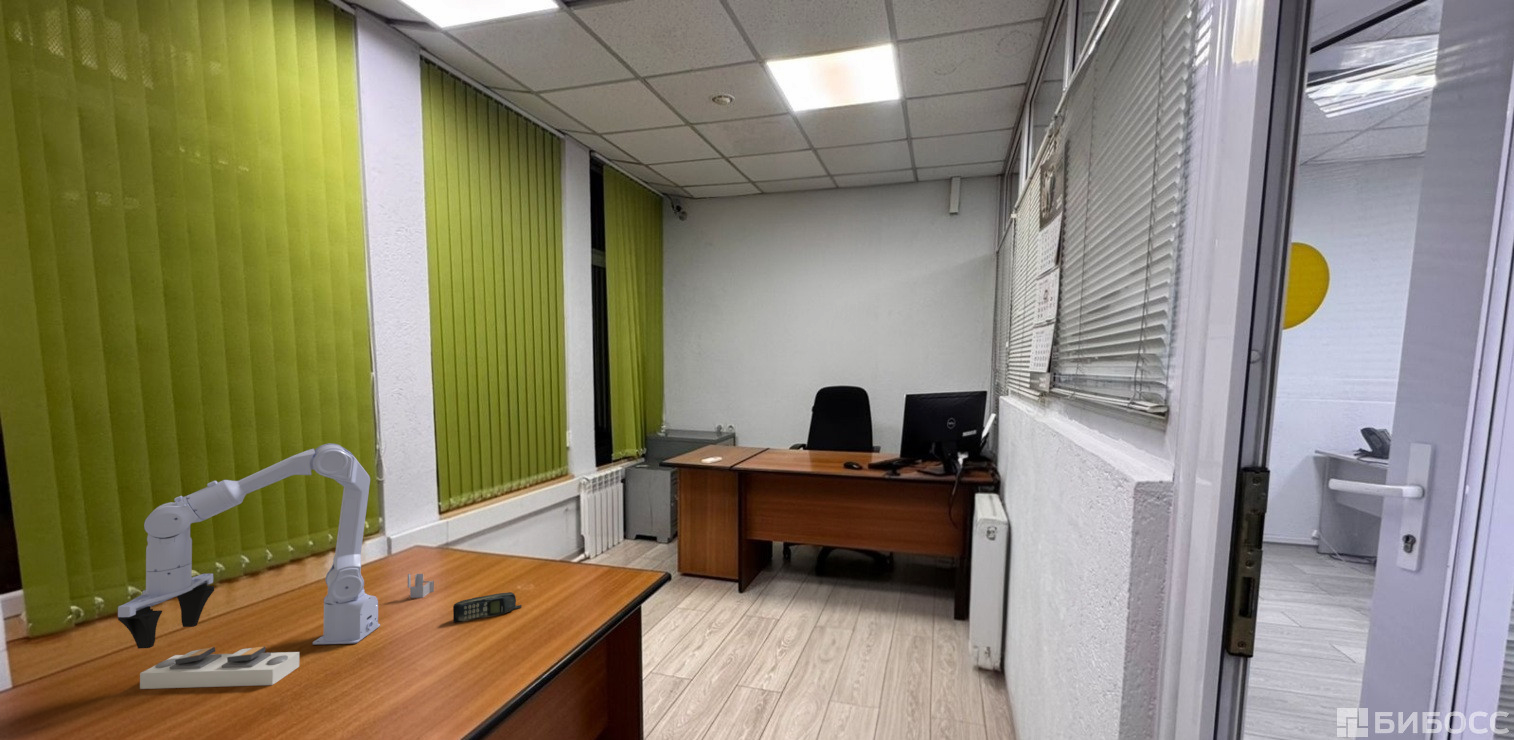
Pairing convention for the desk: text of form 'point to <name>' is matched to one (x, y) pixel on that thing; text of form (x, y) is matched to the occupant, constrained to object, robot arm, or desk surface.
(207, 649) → the rocker
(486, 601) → the mobile phone
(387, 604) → the desk surface
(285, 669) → the rocker switch panel
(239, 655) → the rocker
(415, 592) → the architectural model
